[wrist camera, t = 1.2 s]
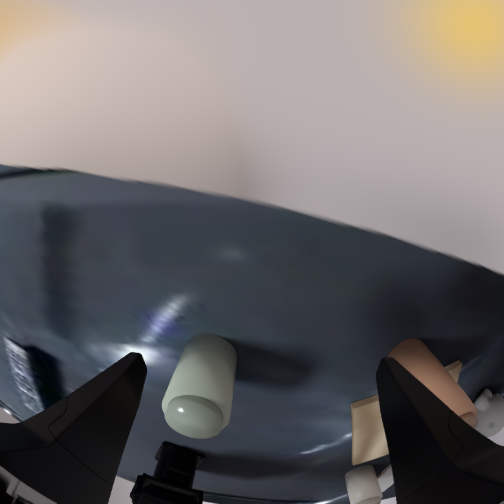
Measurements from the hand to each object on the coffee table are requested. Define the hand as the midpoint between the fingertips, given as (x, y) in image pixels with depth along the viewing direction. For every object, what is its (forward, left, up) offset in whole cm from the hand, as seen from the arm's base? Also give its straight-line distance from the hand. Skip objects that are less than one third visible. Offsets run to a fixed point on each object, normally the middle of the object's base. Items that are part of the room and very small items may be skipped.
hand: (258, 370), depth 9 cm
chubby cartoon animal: (-6, -47, -15) cm, 50 cm away
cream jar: (-27, -33, -15) cm, 45 cm away
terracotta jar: (-3, -20, -15) cm, 25 cm away
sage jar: (-11, 0, -15) cm, 18 cm away
